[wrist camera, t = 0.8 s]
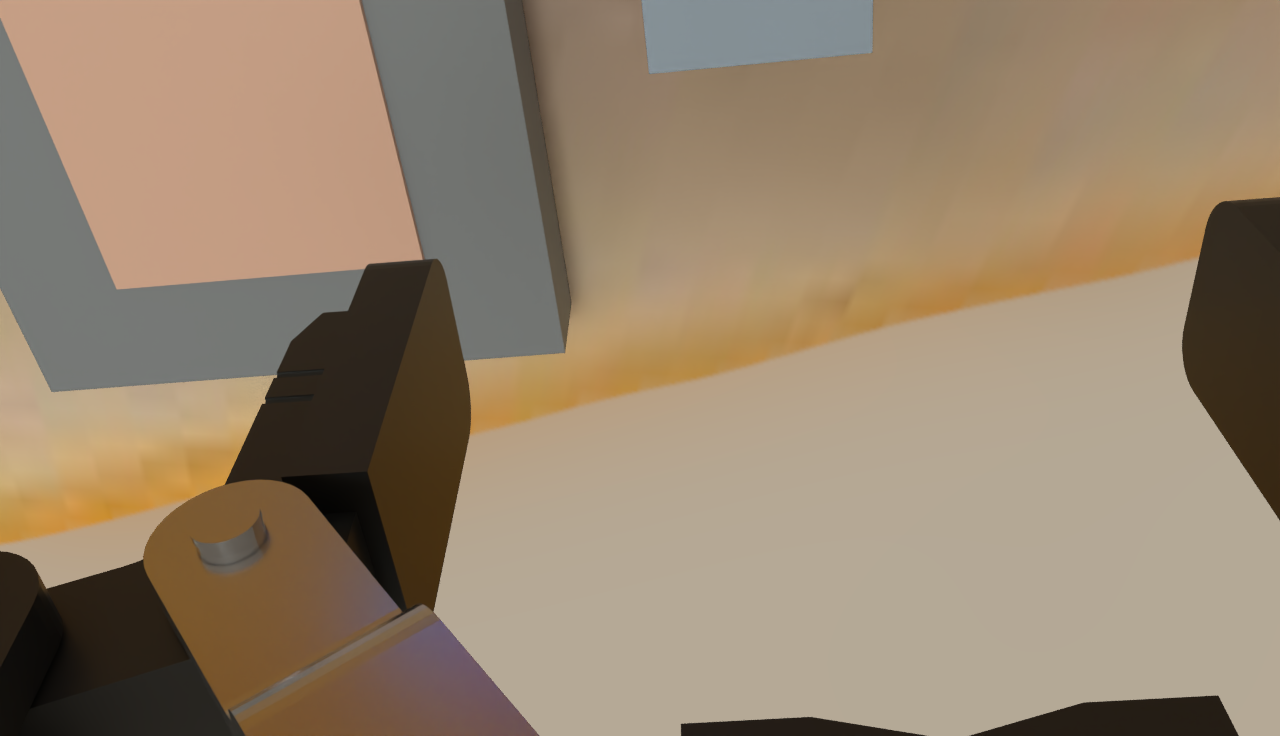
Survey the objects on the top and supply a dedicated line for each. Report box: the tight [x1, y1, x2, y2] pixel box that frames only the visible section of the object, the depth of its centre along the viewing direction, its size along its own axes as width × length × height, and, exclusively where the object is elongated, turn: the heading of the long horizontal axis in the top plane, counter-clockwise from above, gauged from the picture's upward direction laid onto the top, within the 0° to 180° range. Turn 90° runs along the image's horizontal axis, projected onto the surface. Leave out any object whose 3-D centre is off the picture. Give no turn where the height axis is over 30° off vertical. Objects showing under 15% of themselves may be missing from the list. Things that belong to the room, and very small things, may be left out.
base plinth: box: [0, 0, 571, 392], centre depth 31 cm, size 16×16×3 cm
